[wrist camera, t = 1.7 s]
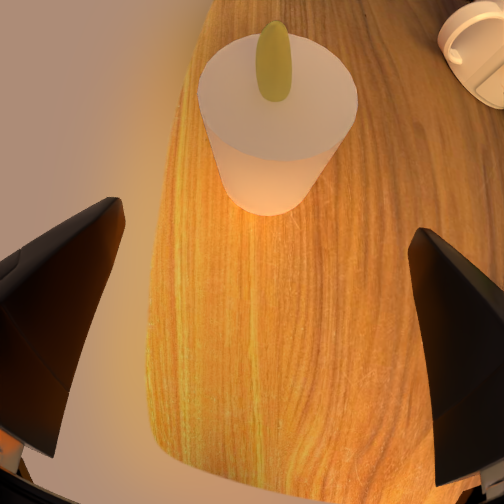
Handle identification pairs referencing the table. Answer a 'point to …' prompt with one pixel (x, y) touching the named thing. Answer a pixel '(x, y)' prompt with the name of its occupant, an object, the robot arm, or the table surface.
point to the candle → (274, 116)
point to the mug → (477, 49)
